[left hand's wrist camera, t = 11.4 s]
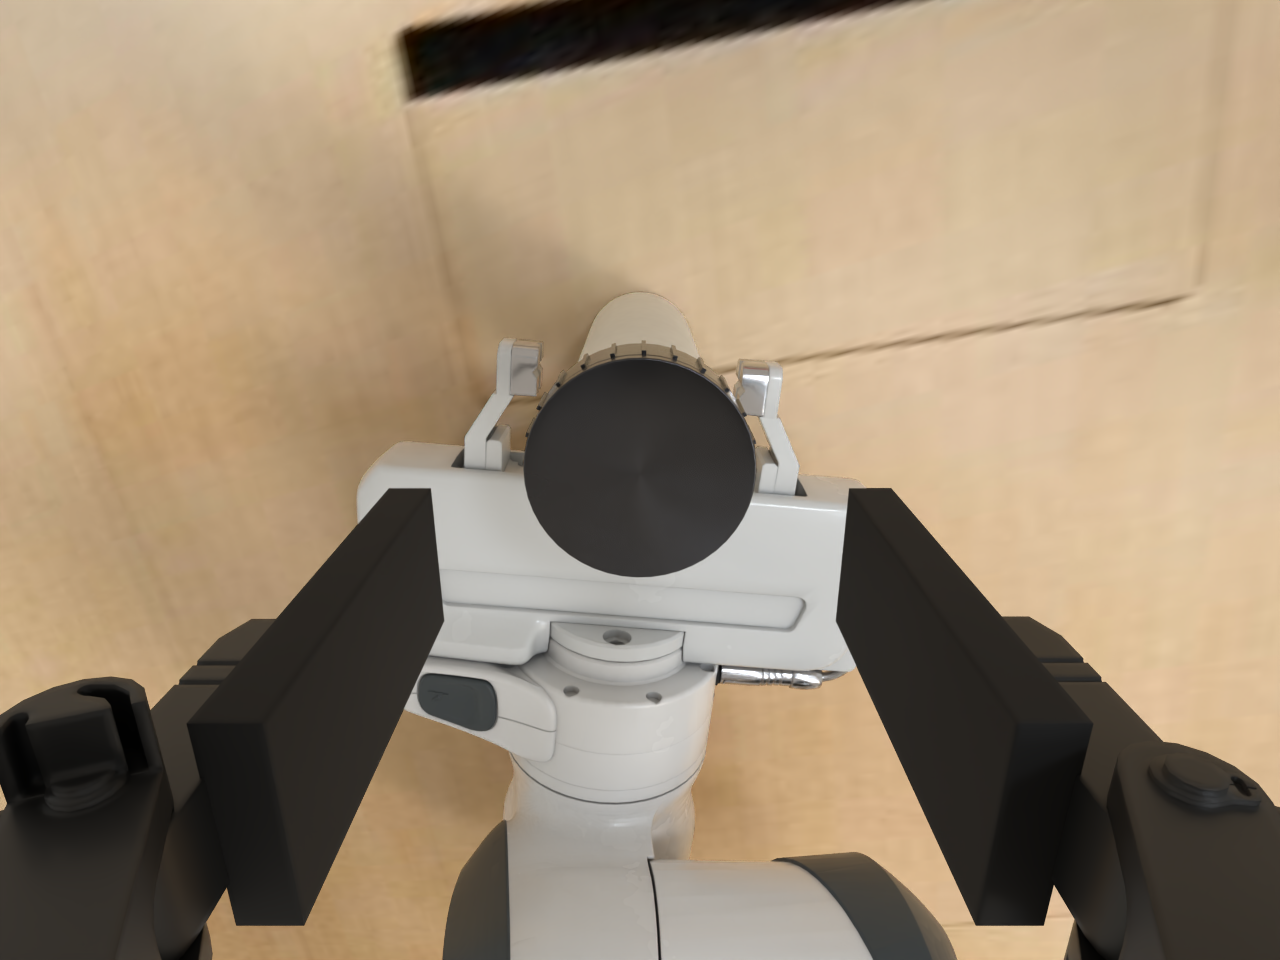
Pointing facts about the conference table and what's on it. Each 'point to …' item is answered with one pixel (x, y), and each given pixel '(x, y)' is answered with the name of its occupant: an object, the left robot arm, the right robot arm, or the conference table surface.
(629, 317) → the jar
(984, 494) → the conference table surface
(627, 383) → the lid
